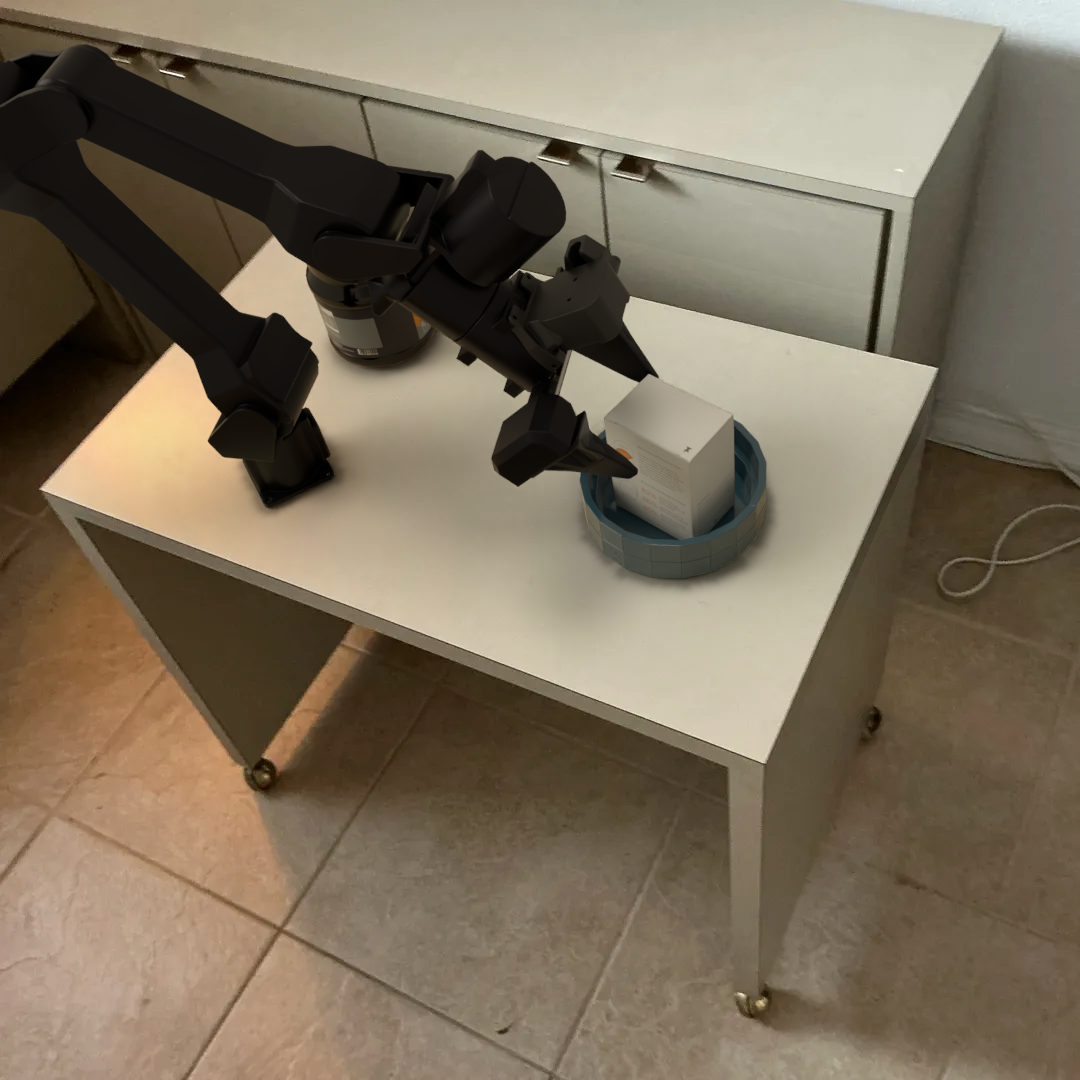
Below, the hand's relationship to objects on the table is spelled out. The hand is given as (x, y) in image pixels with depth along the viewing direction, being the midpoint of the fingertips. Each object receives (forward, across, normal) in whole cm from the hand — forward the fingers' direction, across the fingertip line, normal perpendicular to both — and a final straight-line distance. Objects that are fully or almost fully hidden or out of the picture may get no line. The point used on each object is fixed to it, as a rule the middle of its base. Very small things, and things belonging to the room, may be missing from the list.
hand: (645, 427), depth 83 cm
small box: (+8, 0, +5) cm, 9 cm away
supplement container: (-14, +18, +27) cm, 35 cm away
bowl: (+8, 0, +5) cm, 10 cm away
